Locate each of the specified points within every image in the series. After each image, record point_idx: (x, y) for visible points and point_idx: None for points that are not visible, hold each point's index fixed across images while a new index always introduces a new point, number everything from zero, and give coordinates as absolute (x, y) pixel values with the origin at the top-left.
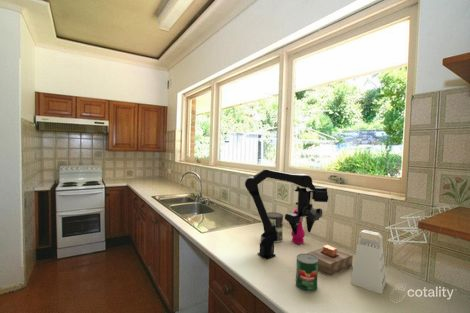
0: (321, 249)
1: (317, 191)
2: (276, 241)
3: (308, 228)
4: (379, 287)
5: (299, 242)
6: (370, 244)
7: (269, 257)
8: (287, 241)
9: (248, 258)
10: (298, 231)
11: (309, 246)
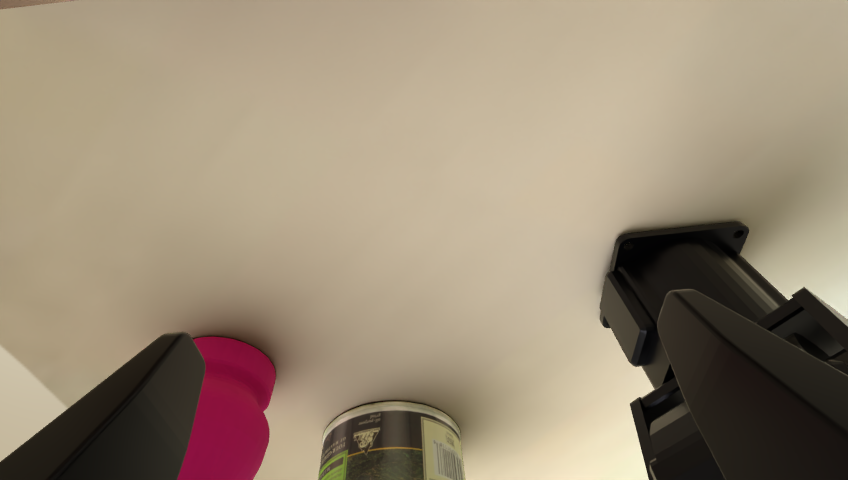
0: None
1: None
2: (412, 409)
3: (164, 436)
4: None
5: (229, 349)
6: None
7: (703, 228)
8: (312, 393)
9: (819, 281)
10: (203, 460)
11: (157, 276)
